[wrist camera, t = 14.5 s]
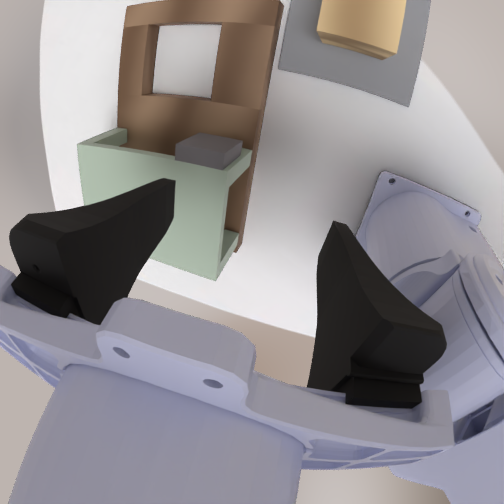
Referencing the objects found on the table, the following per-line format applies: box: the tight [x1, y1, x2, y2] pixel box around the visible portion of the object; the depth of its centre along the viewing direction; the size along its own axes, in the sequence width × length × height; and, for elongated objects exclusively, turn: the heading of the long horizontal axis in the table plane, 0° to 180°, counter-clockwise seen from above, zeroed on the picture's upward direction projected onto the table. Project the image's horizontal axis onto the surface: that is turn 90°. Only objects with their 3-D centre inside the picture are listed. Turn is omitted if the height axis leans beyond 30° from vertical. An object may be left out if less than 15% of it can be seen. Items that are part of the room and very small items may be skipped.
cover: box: [77, 128, 252, 281], centre depth 20 cm, size 12×9×5 cm
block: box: [317, 0, 406, 60], centre depth 11 cm, size 4×4×5 cm
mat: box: [278, 0, 431, 107], centre depth 13 cm, size 9×9×1 cm
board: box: [117, 0, 284, 253], centre depth 20 cm, size 12×20×2 cm, turn 172°
